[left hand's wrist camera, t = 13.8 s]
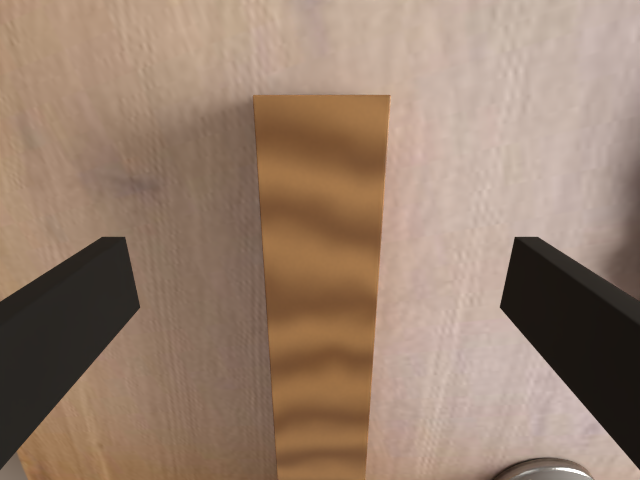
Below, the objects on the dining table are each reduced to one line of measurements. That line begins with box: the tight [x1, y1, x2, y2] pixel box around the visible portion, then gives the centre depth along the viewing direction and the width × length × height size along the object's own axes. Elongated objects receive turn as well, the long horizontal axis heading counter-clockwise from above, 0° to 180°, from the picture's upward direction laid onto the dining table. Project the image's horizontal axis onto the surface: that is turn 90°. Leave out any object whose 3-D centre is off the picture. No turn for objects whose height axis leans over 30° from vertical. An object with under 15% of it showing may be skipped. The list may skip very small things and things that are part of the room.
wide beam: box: [253, 95, 391, 480], centre depth 38 cm, size 57×9×7 cm, turn 0°
